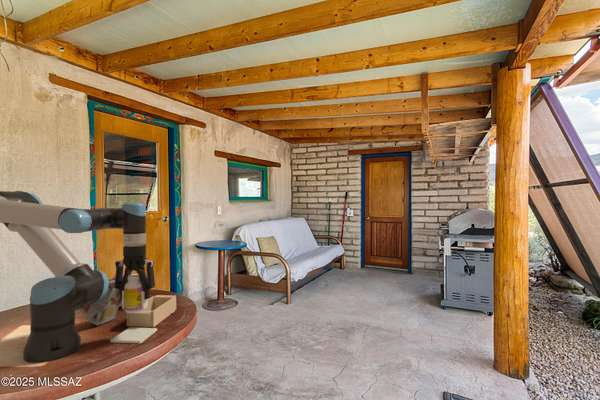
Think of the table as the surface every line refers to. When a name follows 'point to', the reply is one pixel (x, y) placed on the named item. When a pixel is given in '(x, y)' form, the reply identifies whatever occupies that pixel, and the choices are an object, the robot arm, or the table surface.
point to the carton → (153, 311)
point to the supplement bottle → (133, 294)
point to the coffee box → (105, 306)
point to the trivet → (134, 335)
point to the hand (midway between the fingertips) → (135, 307)
